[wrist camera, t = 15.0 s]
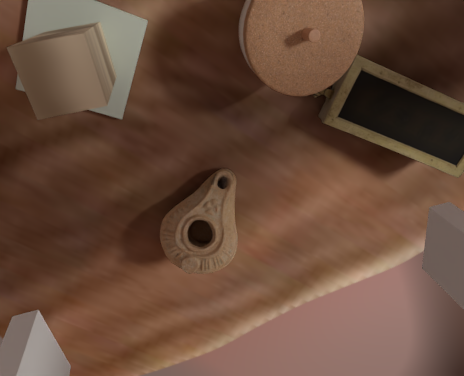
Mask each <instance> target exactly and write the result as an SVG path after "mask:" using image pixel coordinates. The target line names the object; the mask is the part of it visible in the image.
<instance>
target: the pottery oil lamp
mask: <svg viewBox="0 0 464 376" xmlns="http://www.w3.org/2000/svg"><path fill="white" fill-rule="evenodd" d="M235 191H236V177H235V175H234V173H233V172H232V171H231V170H229V169H226V168H223V169H220V170H218V171H216V172H215V173H214V174H212V175H211V176H210V177H209V178H208V179H207V180H206V181H205V182H204V183H203V184H202V185H201V186H200V187H199V188H198V189H197V190H196V191H195V192H194V193H193V194H192V195H190V196H189V197H187V198H186V199H184V200H183V201H182V202H180V203H179V204H178V205H176V206H175V207H174V208H172V209H171V210H170V211H169V212H168V213H167V214H166V215H165V217H164V218H163V220H162V223H161V228H160V242H161V245H162V248H163V250H164V253H165V255H166V256H167V258H168V259H169V260H170V261H171V262H172V263H173V264H174V265H176V266H178V267H179V268H181V269H183V270H184V271H185V272H186V273H189V274H191V273H202V274H203V273H213V272H216V271H218V270H220V269H222V268H224V267H226V266H227V265H228V264H229V263H230V262H231V260H232V259H233V257H234V256H235V253H236V249H237V242H238V236H237V230H236V224H235Z"/></svg>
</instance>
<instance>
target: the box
mask: <svg viewBox="0 0 464 376" xmlns="http://www.w3.org/2000/svg"><path fill="white" fill-rule="evenodd" d="M321 94H322V95H325V96H326V97H327V98H326V100H325V102H324V104H323V107H322V109H321V111H320V113H319V115H318V117H319V118H320V119H321V120H322V123H324V124H327V125H329V126H332V127H334V128H337V129H339V130H342V131H345V132H347V133H350V134H352V135H355V136H357V137H360V138H362V139H365V140H367V141H370V142H372V143H375V144H377V145H380V146H382V147H385V148H387V149H390V150H392V151H395V152H397V153H400V154H402V155H404V156H407V157H409V158H411V159H414V160H416V161H419V162H421V163H424V164H426V165H428V166H431V167H433V168H436V169H438V170H440V171H443V172H445V173H447V174H450V175H452V176H455V177H457V178H458V177H460V176H461V175H462V174H463V172H464V103H462V102H460V101H458V100H456V99H453V98H451V97H449V96H447V95H445V94H442V93H440V92H438V91H436V90H433V89H431V88H429V87H427V86H425V85H423V84H420V83H418V82H416V81H414V80H412V79H409V78H407V77H405V76H403V75H401V74H398V73H396V72H394V71H392V70H390V69H387V68H385V67H383V66H381V65H379V64H376V63H374V62H372V61H370V60H368V59H366V58H364V57H361V56H359V55H356V57H355V59H354V60H353V62H352V64H351V65H350V67H349V68H348V70H347V71H346V72H345V73H344V74H343V75H342V77H341V78H340V79H338V80H337V81H336V82H335V83H334V84H333V86H332V88H331V89H324V90H322V91H320V92H318V93H315V94H313V96H314V97H315V98H316V97H318V96H321ZM307 96H308V95H307Z"/></svg>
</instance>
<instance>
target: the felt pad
mask: <svg viewBox="0 0 464 376" xmlns="http://www.w3.org/2000/svg"><path fill="white" fill-rule="evenodd" d="M96 22H101V26H102V29H103V32H104V36H105V39H106V42H107V46H108V49H109V52H110V56H111V59H112V62H113V66H114V69H115V72H116V76H117V77H116V80H115V83H114V86H113V90H112V93H111V96H110V99H109V102H108V106H104V107H99V108H94V109H89V110H91V111H94V112H98V113H101V114H105V115H108V116H112V117H115V118H119V119H122V118H123V114H124V110H125V106H126V103H127V99H128V95H129V91H130V87H131V83H132V80H133V76H134V72H135V68H136V64H137V60H138V57H139V53H140V49H141V45H142V41H143V38H144V34H145V30H146V26H147V22H148V20H145V19H143V18H140V17H137V16H135V15H132V14H130V13H127V12H124V11H122V10H119V9H117V8H114V7H111V6H109V5H106V4H104V3H101V2H98V1H96V0H28V6H27V13H26V20H25V27H24V34H23V41H24V40H26V39H29V38H31V37H34V36H36V35H38V34H41V33H43V32H47V31H52V30H58V29H63V28H69V27H74V26H80V25H85V24H90V23H96ZM16 89H17V90H21V91H24V92H25V90H24V87H23V85H22V83H21V80H20V78H19V76H18V75H17V82H16Z"/></svg>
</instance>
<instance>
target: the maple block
mask: <svg viewBox="0 0 464 376" xmlns="http://www.w3.org/2000/svg"><path fill="white" fill-rule="evenodd" d="M7 50H8V52H9V55H10V57H11V59H12V62H13V64H14V66H15V69H16V71H17V73H18V76H19V78H20V80H21V83H22V85H23V87H24V90H25V92H26V94H27V97H28V99H29V101H30V104H31V106H32V108H33V111H34V113H35V115H36V118H37V120H41V119H46V118H51V117H55V116H60V115H65V114H70V113H75V112H80V111H84V110H89V109H94V108H99V107H104V106H108V102H109V99H110V96H111V93H112V90H113V86H114V83H115V80H116V77H117V76H116V72H115V69H114V66H113V62H112V59H111V56H110V52H109V49H108V46H107V42H106V39H105V36H104V32H103V29H102V26H101V22H96V23H90V24H85V25H80V26H74V27H69V28H63V29H58V30H52V31H47V32H43V33H41V34H38V35H36V36H34V37H31V38H29V39H26V40H24V41H21V42H19V43H16V44H14V45H11V46H9V47H7Z"/></svg>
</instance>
